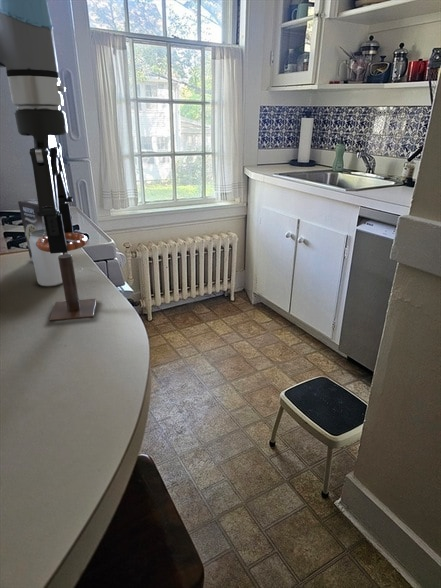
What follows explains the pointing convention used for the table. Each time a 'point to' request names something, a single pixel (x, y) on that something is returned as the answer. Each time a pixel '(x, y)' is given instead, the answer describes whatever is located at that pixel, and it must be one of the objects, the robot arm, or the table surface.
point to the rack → (71, 295)
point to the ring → (80, 242)
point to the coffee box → (31, 219)
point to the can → (45, 262)
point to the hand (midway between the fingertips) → (63, 244)
